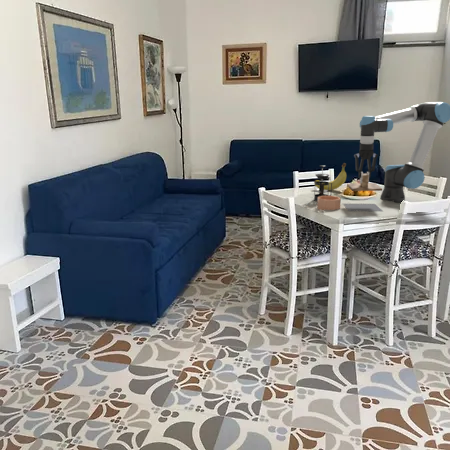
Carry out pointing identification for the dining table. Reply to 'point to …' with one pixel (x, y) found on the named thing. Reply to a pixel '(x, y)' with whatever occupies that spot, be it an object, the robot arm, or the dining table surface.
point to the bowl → (328, 203)
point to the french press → (322, 185)
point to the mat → (362, 207)
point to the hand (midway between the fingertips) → (364, 182)
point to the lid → (364, 185)
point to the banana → (337, 181)
